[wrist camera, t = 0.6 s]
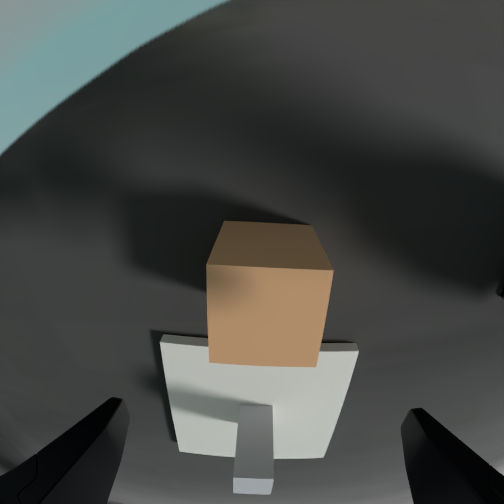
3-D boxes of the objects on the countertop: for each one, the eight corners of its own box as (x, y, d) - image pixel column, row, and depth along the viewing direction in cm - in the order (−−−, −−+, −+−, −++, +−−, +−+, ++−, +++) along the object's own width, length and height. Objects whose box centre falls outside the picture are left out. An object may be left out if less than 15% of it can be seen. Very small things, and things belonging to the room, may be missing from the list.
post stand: (355, 342, 22) (385, 425, 15) (322, 450, 27) (331, 516, 20) (163, 334, 22) (129, 414, 15) (181, 443, 27) (166, 509, 20)
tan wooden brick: (311, 225, 19) (333, 270, 13) (302, 301, 21) (316, 367, 15) (224, 220, 19) (206, 264, 13) (223, 297, 21) (209, 362, 15)
